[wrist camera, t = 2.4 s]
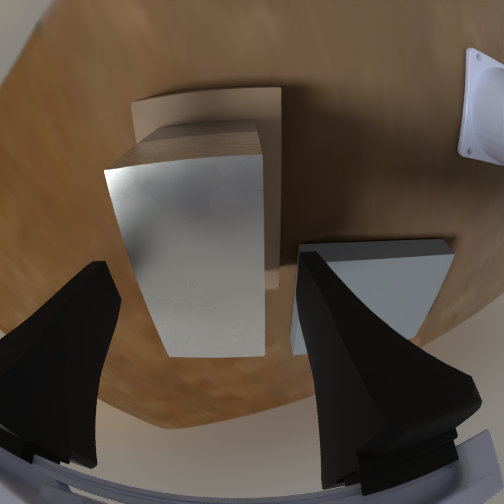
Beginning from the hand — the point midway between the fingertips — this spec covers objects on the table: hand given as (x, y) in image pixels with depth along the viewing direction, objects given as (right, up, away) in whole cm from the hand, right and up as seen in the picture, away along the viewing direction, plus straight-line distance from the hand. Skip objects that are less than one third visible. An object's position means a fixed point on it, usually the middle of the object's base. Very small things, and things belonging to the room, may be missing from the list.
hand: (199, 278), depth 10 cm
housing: (0, +3, +5) cm, 6 cm away
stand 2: (+11, -2, +11) cm, 16 cm away
